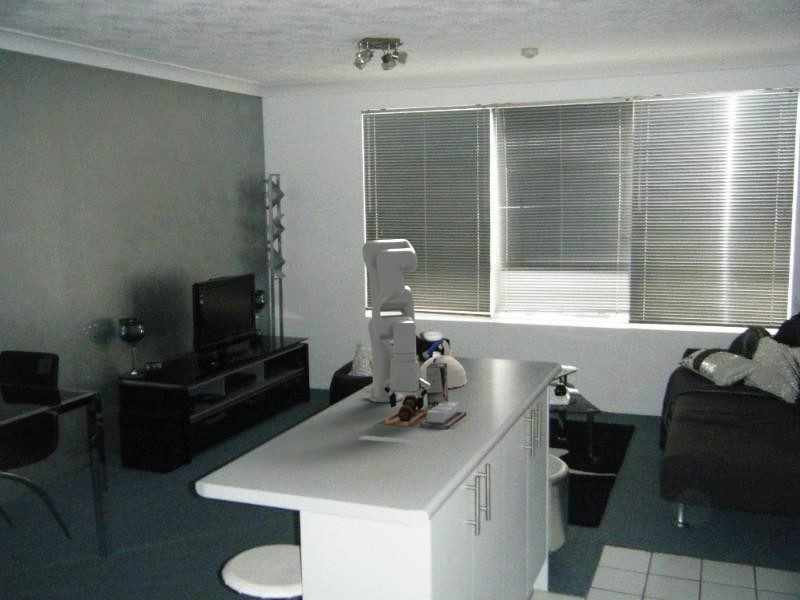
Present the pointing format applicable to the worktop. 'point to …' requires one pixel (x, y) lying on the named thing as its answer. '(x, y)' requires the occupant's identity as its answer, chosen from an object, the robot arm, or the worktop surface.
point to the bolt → (407, 407)
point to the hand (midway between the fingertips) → (406, 407)
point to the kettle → (453, 366)
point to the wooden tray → (423, 420)
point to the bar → (443, 413)
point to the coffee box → (437, 384)
